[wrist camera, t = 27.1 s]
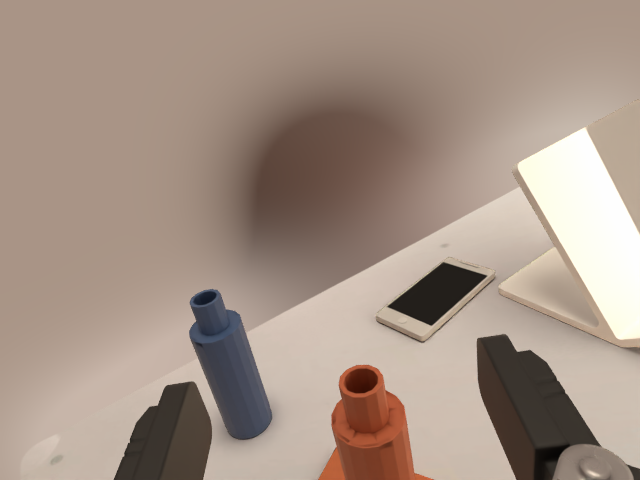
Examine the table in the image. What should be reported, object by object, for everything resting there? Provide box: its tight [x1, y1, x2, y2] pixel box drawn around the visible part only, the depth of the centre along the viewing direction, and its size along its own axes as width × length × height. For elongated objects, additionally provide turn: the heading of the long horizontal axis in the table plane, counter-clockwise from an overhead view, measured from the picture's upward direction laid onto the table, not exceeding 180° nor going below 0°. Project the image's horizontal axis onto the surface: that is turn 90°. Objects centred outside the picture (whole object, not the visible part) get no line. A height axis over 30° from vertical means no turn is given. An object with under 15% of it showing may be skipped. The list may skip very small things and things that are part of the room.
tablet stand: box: [499, 100, 640, 348], centre depth 52 cm, size 18×25×17 cm
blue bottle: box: [189, 289, 272, 439], centre depth 44 cm, size 5×5×15 cm
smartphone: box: [376, 257, 495, 341], centre depth 59 cm, size 7×15×1 cm, turn 132°
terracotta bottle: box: [332, 365, 415, 480], centre depth 32 cm, size 5×5×15 cm
